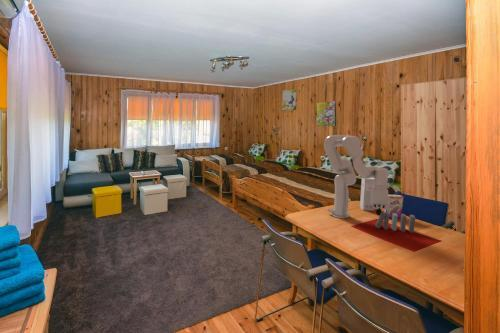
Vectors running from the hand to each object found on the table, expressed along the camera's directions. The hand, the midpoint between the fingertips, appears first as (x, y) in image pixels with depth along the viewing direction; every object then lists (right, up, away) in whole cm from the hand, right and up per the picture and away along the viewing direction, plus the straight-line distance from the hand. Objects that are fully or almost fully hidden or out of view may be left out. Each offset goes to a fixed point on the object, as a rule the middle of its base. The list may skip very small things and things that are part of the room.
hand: (378, 214), depth 186 cm
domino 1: (0, -8, +2) cm, 8 cm away
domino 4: (+14, -9, -3) cm, 17 cm away
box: (+9, -2, +41) cm, 42 cm away
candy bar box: (+20, -6, +21) cm, 30 cm away
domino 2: (+5, -9, 0) cm, 10 cm away
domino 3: (+9, -9, -1) cm, 13 cm away
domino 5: (+19, -10, -4) cm, 22 cm away
